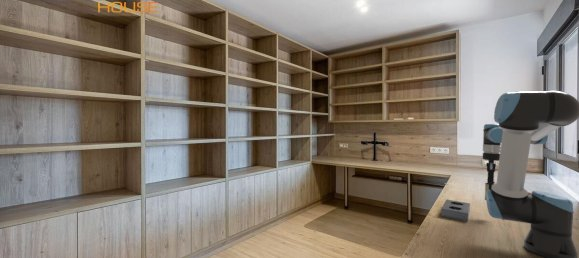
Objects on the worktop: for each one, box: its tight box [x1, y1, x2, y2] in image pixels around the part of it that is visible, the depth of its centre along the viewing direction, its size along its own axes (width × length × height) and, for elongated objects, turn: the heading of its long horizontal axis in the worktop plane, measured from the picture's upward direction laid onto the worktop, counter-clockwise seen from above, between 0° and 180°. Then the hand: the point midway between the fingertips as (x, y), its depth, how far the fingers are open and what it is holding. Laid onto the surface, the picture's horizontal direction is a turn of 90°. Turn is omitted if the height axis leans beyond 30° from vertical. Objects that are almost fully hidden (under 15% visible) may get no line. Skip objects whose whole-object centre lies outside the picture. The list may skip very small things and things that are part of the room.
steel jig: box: [440, 199, 471, 223], centre depth 147 cm, size 22×12×4 cm, turn 143°
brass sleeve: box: [484, 182, 487, 201], centre depth 140 cm, size 4×4×9 cm
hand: (489, 195), depth 140 cm, fingers closed on brass sleeve, 4 cm apart
